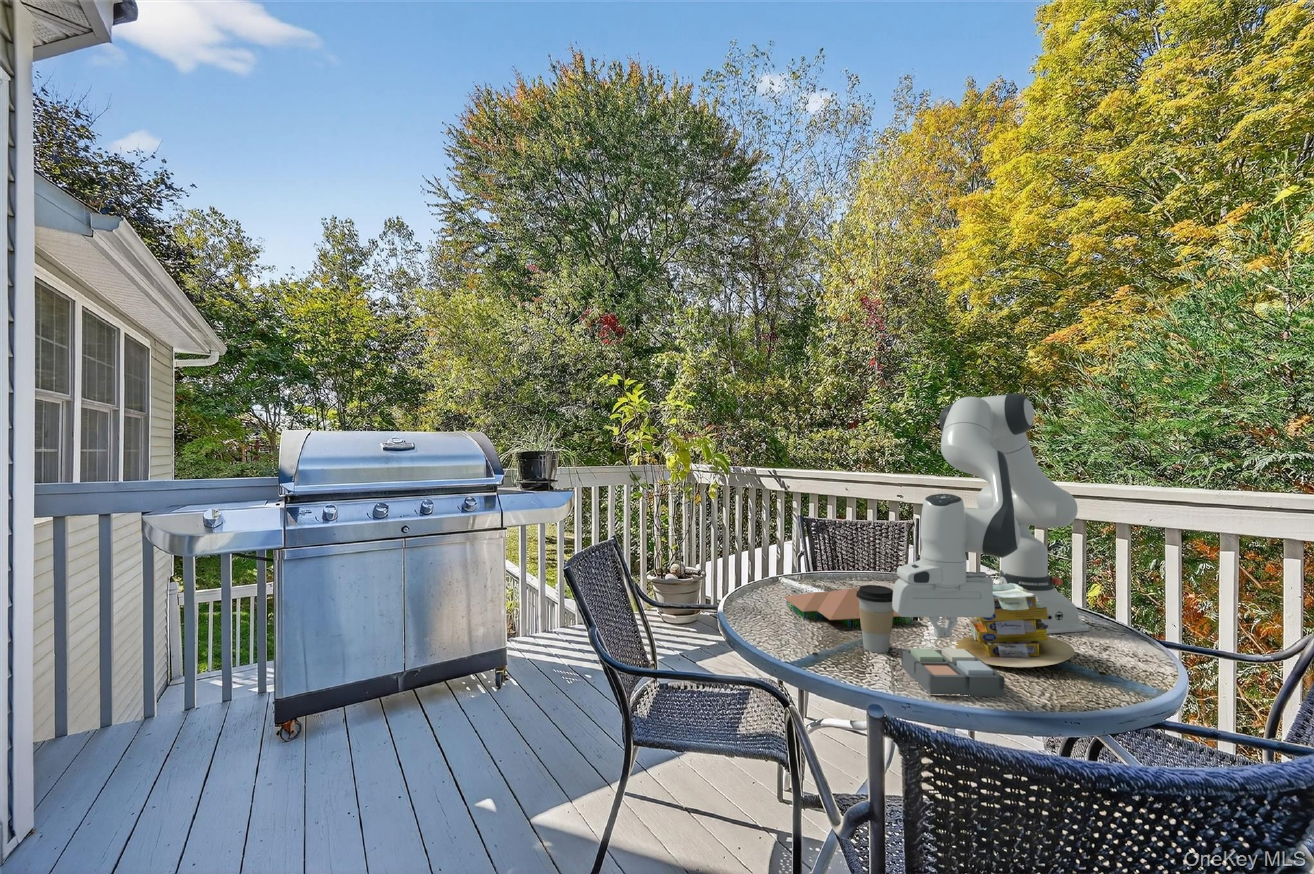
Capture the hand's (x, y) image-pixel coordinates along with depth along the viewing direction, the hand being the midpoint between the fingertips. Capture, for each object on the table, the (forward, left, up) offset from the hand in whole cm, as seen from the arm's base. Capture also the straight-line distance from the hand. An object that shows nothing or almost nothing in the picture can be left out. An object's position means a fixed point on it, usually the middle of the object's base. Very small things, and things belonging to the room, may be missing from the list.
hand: (942, 636), depth 124 cm
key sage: (0, -7, -8) cm, 11 cm away
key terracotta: (0, 0, -9) cm, 9 cm away
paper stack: (-25, -18, -11) cm, 33 cm away
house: (+4, -49, -11) cm, 51 cm away
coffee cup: (+6, -22, -11) cm, 25 cm away
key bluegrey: (-7, 0, -8) cm, 10 cm away
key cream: (-7, -7, -8) cm, 12 cm away
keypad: (-3, -3, -11) cm, 12 cm away
